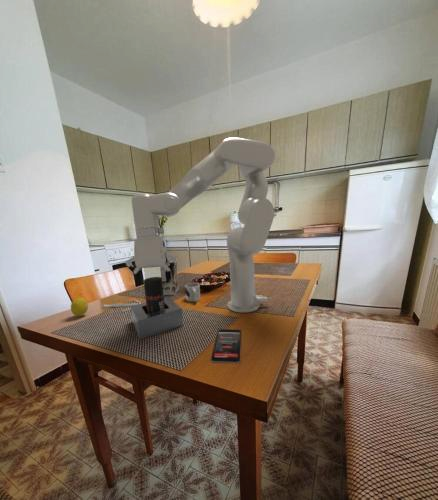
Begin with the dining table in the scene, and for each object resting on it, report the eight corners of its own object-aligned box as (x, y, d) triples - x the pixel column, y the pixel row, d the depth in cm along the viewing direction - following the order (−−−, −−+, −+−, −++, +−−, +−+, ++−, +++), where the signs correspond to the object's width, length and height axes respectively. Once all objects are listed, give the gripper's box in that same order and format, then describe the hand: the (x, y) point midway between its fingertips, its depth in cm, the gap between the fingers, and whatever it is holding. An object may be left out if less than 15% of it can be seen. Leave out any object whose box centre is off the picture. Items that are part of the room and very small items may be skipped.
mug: (184, 297, 95) (183, 284, 94) (198, 295, 97) (197, 282, 96) (188, 305, 86) (187, 290, 85) (203, 303, 88) (202, 288, 87)
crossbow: (145, 302, 96) (145, 298, 95) (135, 314, 83) (135, 309, 83) (110, 302, 95) (110, 298, 95) (95, 314, 82) (95, 309, 82)
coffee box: (175, 295, 99) (172, 262, 97) (162, 295, 100) (159, 263, 97) (179, 289, 108) (176, 259, 106) (167, 289, 109) (164, 260, 106)
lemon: (69, 318, 79) (65, 299, 78) (82, 312, 84) (80, 294, 83) (78, 320, 77) (75, 300, 76) (92, 314, 82) (89, 295, 81)
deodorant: (161, 325, 68) (156, 281, 66) (145, 324, 69) (140, 281, 67) (168, 316, 74) (164, 276, 72) (153, 316, 75) (149, 276, 73)
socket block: (170, 311, 81) (168, 296, 80) (183, 325, 69) (181, 308, 68) (132, 321, 74) (130, 306, 73) (139, 339, 62) (137, 320, 61)
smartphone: (210, 361, 50) (218, 329, 65) (210, 363, 50) (218, 331, 65) (240, 361, 49) (241, 329, 64) (240, 364, 49) (241, 331, 64)
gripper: (176, 230, 71) (181, 278, 73) (126, 234, 71) (133, 282, 73) (171, 231, 64) (177, 284, 66) (116, 236, 63) (124, 288, 66)
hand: (154, 283), depth 70 cm, fingers open, 9 cm apart
